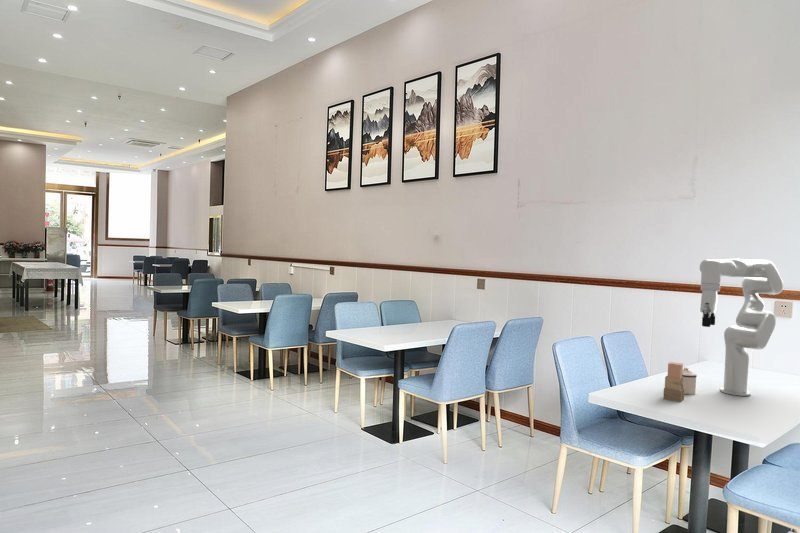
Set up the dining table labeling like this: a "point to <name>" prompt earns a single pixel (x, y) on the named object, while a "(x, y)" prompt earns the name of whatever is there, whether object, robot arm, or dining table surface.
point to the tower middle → (674, 383)
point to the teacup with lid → (689, 381)
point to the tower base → (674, 395)
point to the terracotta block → (675, 370)
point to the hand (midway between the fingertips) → (708, 325)
